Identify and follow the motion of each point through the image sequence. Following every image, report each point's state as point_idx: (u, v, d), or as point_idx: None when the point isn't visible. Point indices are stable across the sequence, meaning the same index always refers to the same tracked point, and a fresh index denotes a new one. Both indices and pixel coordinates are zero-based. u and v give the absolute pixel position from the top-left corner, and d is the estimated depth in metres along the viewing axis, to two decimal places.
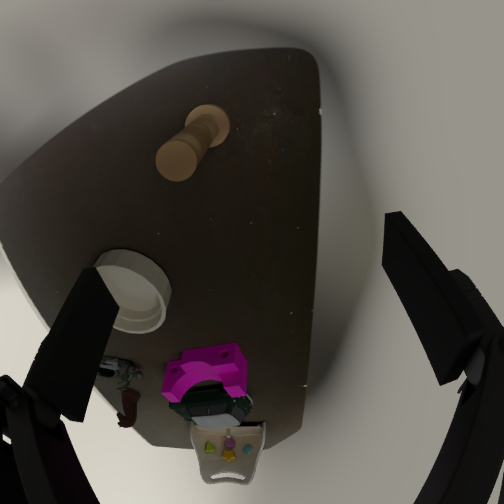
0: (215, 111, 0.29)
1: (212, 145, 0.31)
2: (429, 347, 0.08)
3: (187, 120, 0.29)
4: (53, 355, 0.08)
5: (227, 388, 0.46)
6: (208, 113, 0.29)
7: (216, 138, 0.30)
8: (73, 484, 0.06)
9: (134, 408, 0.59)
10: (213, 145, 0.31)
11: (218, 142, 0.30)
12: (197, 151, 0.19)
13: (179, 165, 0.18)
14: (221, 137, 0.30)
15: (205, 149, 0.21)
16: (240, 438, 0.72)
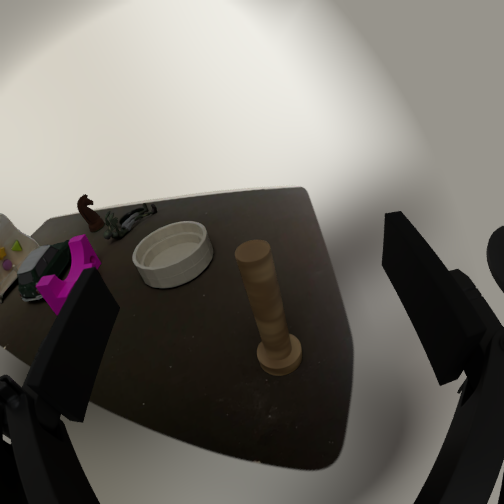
0: (291, 359, 0.29)
1: (258, 350, 0.31)
2: (429, 347, 0.08)
3: (291, 335, 0.32)
4: (53, 355, 0.08)
5: (51, 276, 0.43)
6: (291, 353, 0.30)
7: (263, 354, 0.31)
8: (73, 483, 0.06)
9: (86, 217, 0.69)
10: (258, 351, 0.31)
11: (259, 355, 0.31)
12: (253, 269, 0.22)
13: (248, 252, 0.23)
14: (263, 359, 0.30)
15: (253, 295, 0.24)
16: (4, 276, 0.61)
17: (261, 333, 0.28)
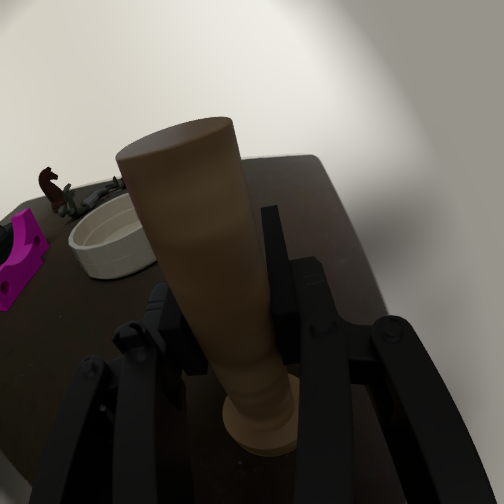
0: (291, 432, 0.13)
1: (226, 405, 0.14)
2: None
3: (294, 379, 0.15)
4: None
5: None
6: (292, 417, 0.13)
7: (235, 416, 0.14)
8: (177, 466, 0.06)
9: (48, 194, 0.53)
10: (225, 406, 0.14)
11: (226, 417, 0.14)
12: (160, 187, 0.06)
13: (157, 139, 0.06)
14: (233, 425, 0.13)
15: (180, 290, 0.07)
16: None
17: (223, 385, 0.11)
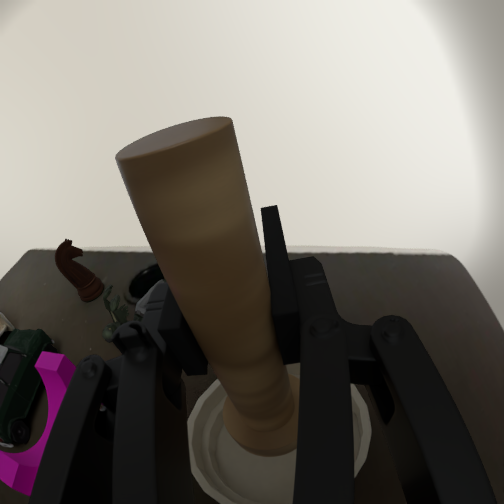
0: (291, 432, 0.13)
1: (226, 405, 0.14)
2: None
3: (294, 379, 0.15)
4: None
5: (14, 466, 0.13)
6: (292, 417, 0.13)
7: (236, 416, 0.14)
8: (177, 466, 0.06)
9: (72, 279, 0.39)
10: (225, 407, 0.14)
11: (226, 417, 0.14)
12: (159, 187, 0.06)
13: (157, 138, 0.06)
14: (233, 425, 0.13)
15: (180, 291, 0.07)
16: None
17: (223, 386, 0.11)
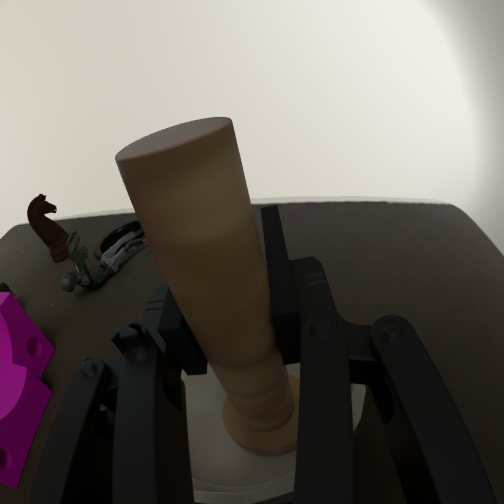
0: (291, 432, 0.13)
1: (226, 405, 0.14)
2: None
3: (294, 379, 0.15)
4: None
5: None
6: (292, 417, 0.13)
7: (235, 416, 0.14)
8: (177, 466, 0.06)
9: (43, 236, 0.35)
10: (225, 407, 0.14)
11: (226, 417, 0.14)
12: (159, 187, 0.06)
13: (156, 139, 0.06)
14: (233, 425, 0.13)
15: (180, 291, 0.07)
16: None
17: (222, 386, 0.11)
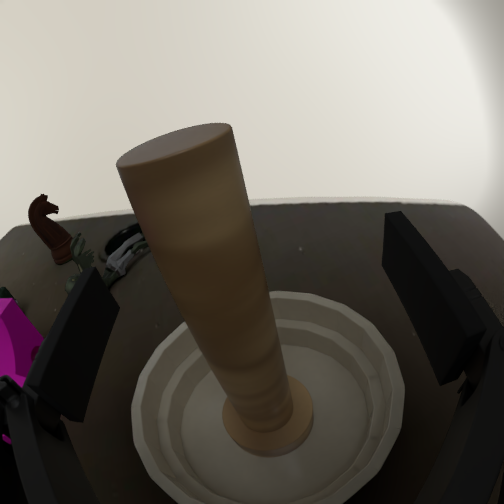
0: (290, 433, 0.13)
1: (226, 406, 0.15)
2: (429, 347, 0.08)
3: (293, 380, 0.15)
4: (53, 355, 0.08)
5: None
6: (291, 418, 0.13)
7: (235, 417, 0.14)
8: (73, 484, 0.06)
9: (45, 238, 0.34)
10: (225, 408, 0.14)
11: (226, 418, 0.14)
12: (160, 194, 0.06)
13: (157, 145, 0.06)
14: (233, 426, 0.13)
15: (180, 295, 0.07)
16: None
17: (222, 387, 0.11)
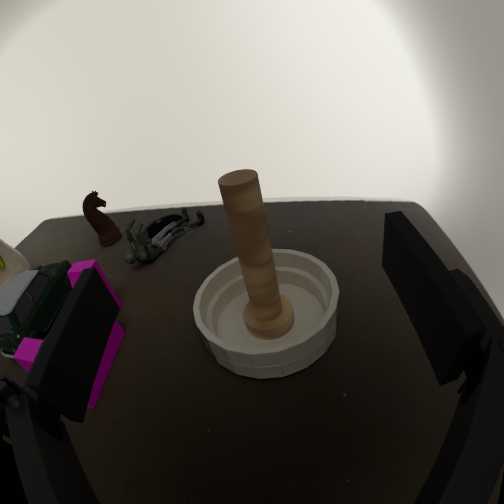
0: (280, 320, 0.27)
1: (245, 310, 0.29)
2: (429, 347, 0.08)
3: (282, 296, 0.29)
4: (53, 355, 0.08)
5: (39, 343, 0.21)
6: (281, 313, 0.27)
7: (250, 315, 0.28)
8: (73, 484, 0.06)
9: (95, 225, 0.48)
10: (244, 311, 0.29)
11: (245, 315, 0.28)
12: (237, 194, 0.20)
13: (232, 178, 0.20)
14: (249, 319, 0.28)
15: (237, 230, 0.22)
16: None
17: (247, 284, 0.25)
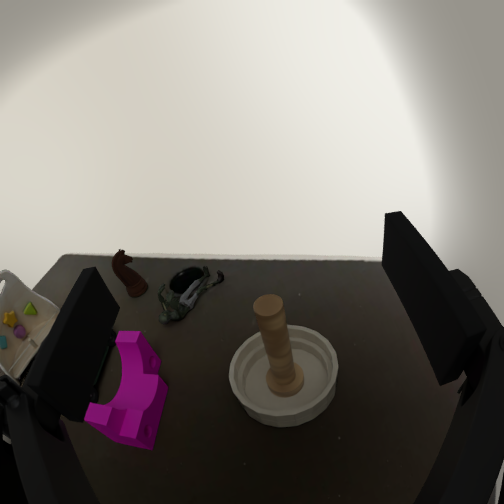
0: (294, 385, 0.34)
1: (267, 375, 0.36)
2: (429, 347, 0.08)
3: (295, 364, 0.36)
4: (53, 355, 0.08)
5: (108, 409, 0.29)
6: (294, 379, 0.35)
7: (271, 380, 0.35)
8: (73, 484, 0.06)
9: (124, 280, 0.55)
10: (267, 376, 0.36)
11: (267, 380, 0.35)
12: (268, 321, 0.27)
13: (264, 306, 0.28)
14: (271, 383, 0.35)
15: (267, 338, 0.29)
16: (16, 345, 0.47)
17: (271, 365, 0.32)
